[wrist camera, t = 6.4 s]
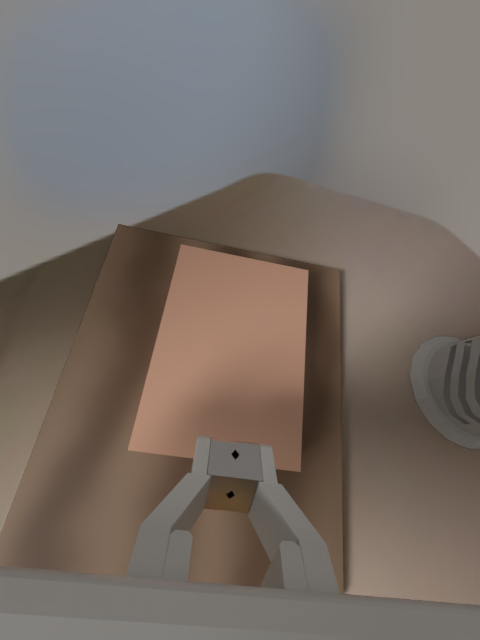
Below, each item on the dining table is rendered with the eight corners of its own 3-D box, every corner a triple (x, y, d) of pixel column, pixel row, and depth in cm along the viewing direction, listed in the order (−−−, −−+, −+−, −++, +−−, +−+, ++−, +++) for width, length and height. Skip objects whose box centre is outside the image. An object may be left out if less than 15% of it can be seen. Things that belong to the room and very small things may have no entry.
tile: (127, 450, 15) (181, 244, 20) (137, 446, 17) (182, 262, 22) (300, 472, 16) (308, 270, 21) (286, 465, 18) (296, 285, 23)
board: (-5, 576, 15) (-21, 588, 14) (122, 233, 24) (118, 224, 23) (333, 602, 17) (343, 615, 16) (333, 276, 26) (339, 269, 25)
